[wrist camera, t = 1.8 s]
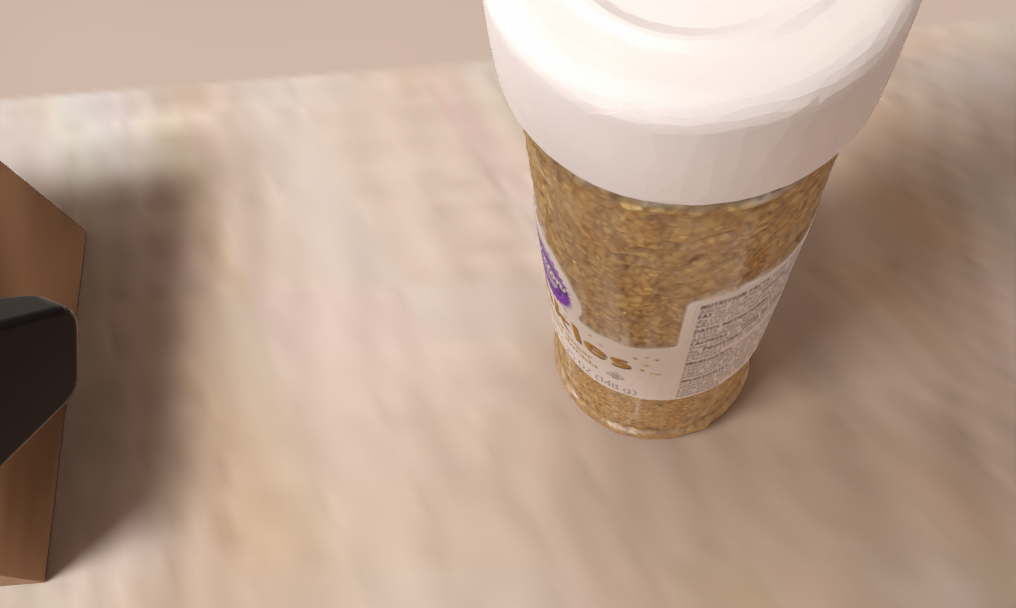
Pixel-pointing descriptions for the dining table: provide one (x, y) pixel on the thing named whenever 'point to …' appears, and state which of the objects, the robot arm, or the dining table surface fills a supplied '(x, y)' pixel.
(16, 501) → the walnut box
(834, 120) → the sprinkles bottle
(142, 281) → the dining table surface
